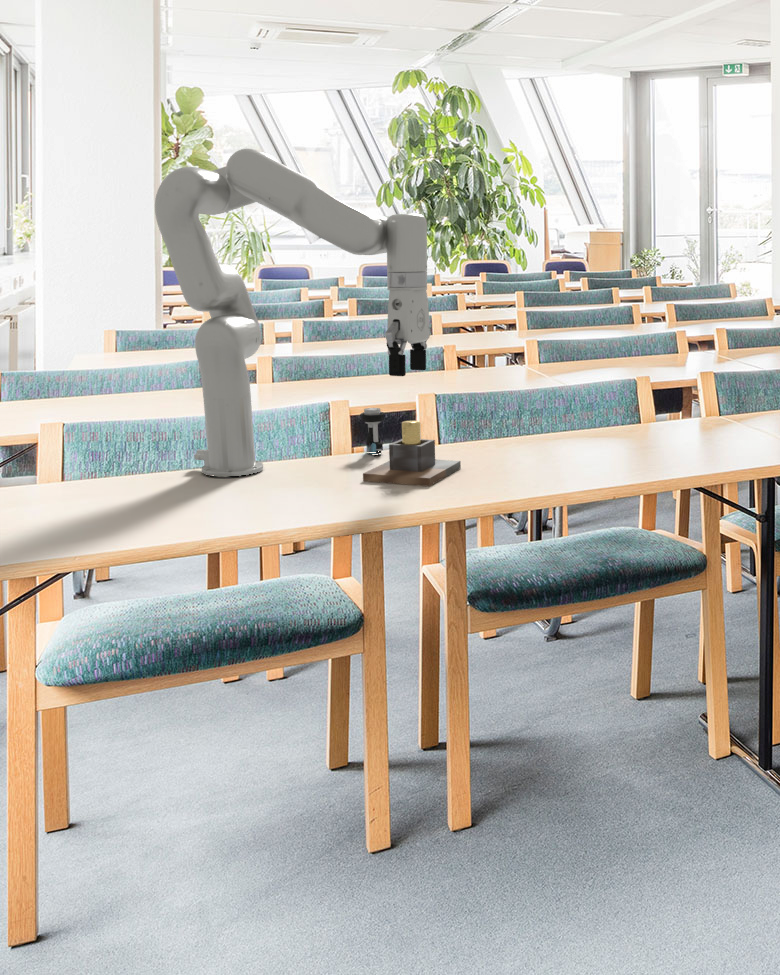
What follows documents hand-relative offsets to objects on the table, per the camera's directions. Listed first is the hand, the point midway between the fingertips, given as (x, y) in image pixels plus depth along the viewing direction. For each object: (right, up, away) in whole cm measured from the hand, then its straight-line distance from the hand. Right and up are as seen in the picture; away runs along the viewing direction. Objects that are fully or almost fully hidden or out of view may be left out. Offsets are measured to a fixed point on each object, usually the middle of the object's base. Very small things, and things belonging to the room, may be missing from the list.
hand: (408, 372), depth 180 cm
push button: (-7, -15, +25) cm, 30 cm away
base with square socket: (+1, -20, +5) cm, 20 cm away
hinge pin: (+1, -18, +4) cm, 19 cm away
